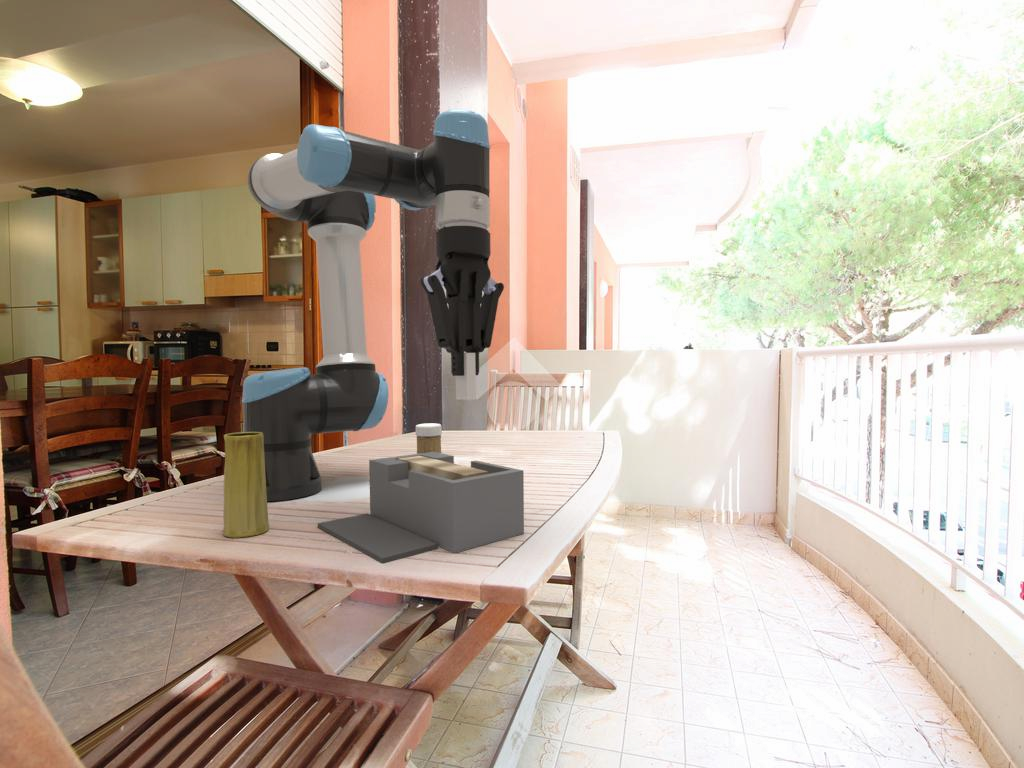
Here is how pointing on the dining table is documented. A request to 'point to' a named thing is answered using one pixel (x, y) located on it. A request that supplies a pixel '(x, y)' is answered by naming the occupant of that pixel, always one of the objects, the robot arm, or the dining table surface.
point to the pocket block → (449, 502)
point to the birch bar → (441, 468)
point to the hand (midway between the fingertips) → (465, 399)
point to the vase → (244, 485)
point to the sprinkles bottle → (428, 437)
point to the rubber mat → (377, 537)
